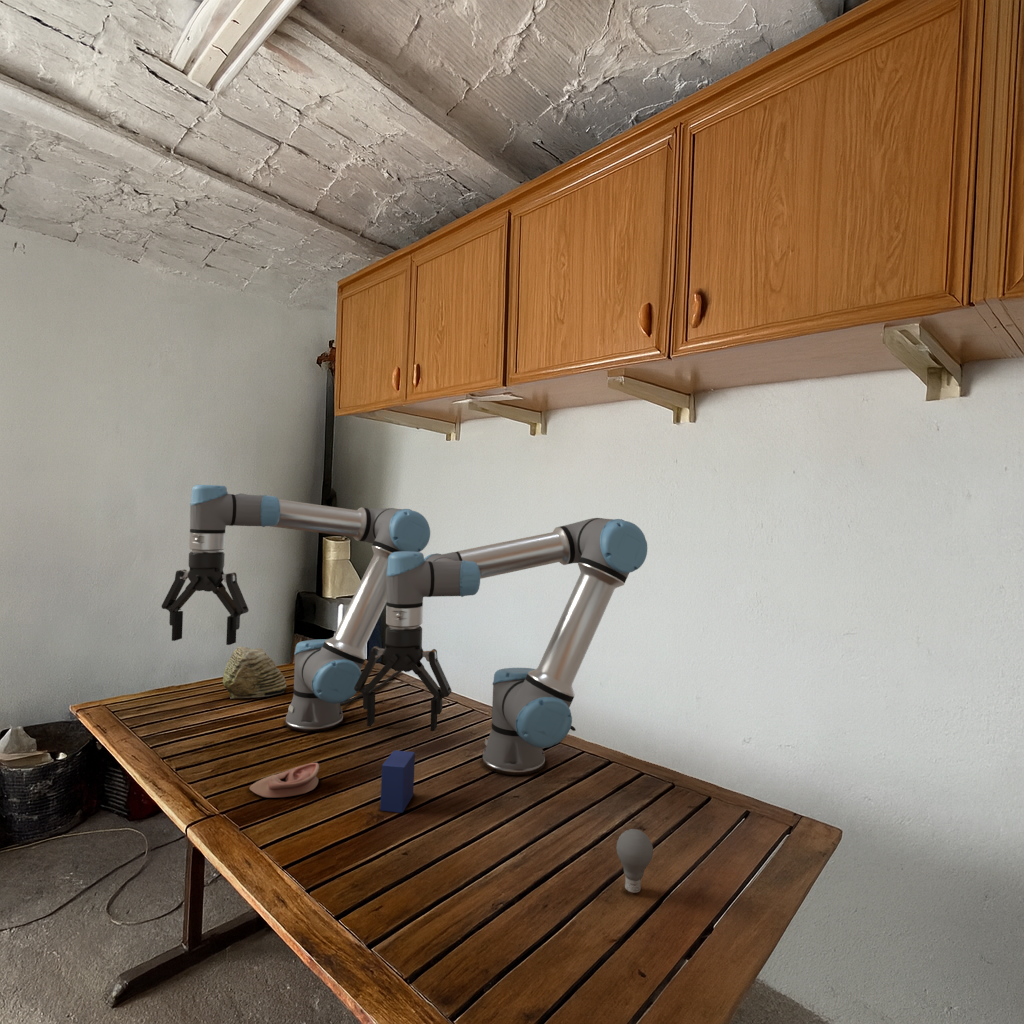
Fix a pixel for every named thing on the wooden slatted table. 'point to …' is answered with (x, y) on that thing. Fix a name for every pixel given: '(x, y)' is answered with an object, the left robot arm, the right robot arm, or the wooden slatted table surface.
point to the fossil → (252, 674)
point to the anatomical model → (288, 782)
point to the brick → (397, 781)
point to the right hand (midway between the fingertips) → (402, 726)
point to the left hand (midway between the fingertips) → (203, 641)
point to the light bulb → (634, 857)
